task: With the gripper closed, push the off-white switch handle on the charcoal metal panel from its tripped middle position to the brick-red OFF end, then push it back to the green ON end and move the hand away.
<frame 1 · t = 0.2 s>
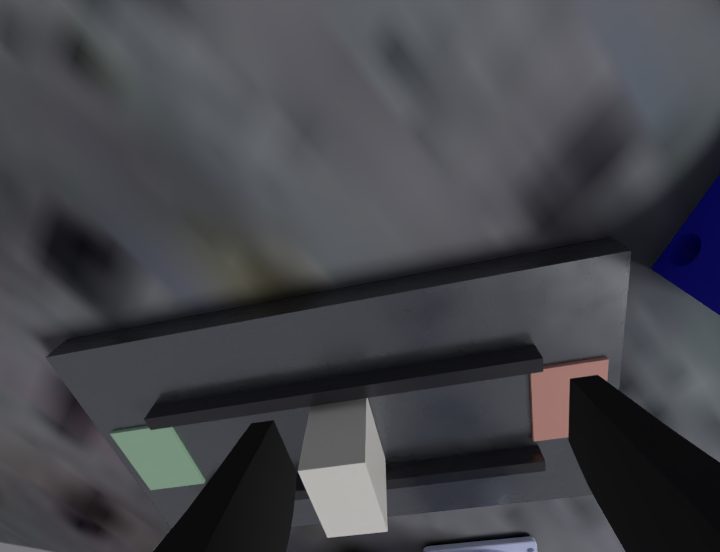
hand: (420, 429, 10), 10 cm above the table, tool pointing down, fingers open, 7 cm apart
breaker panel: (351, 409, 23), on the table
switch handle: (347, 464, 19), point 4 cm above the table, slide at 0.0 cm
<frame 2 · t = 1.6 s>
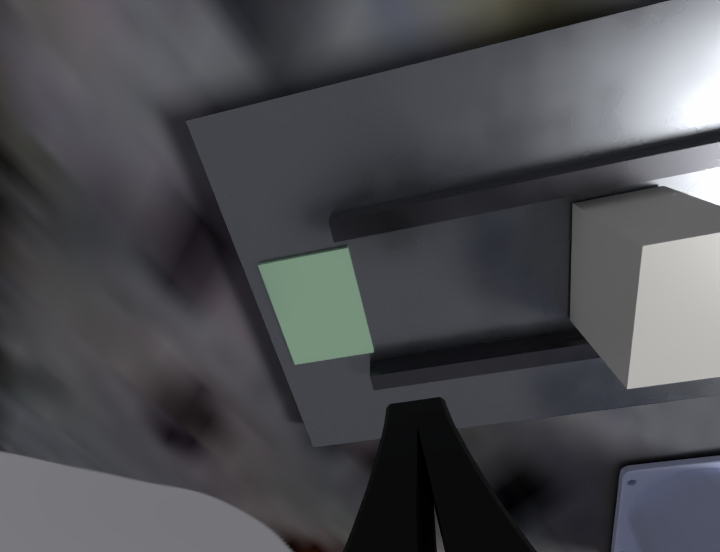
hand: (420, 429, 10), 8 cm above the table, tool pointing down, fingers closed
breaker panel: (591, 242, 16), on the table
switch handle: (645, 283, 13), point 4 cm above the table, slide at 0.0 cm
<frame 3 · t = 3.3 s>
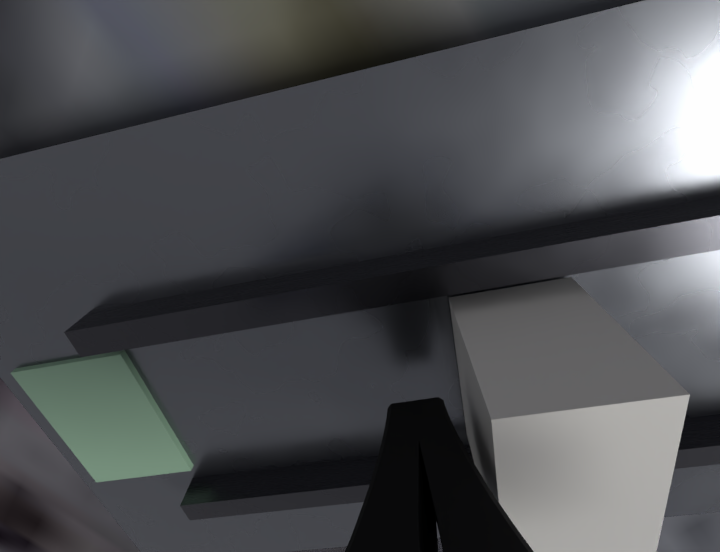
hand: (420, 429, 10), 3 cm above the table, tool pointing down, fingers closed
breaker panel: (462, 336, 12), on the table
switch handle: (540, 421, 9), point 4 cm above the table, slide at -1.1 cm, touching gripper
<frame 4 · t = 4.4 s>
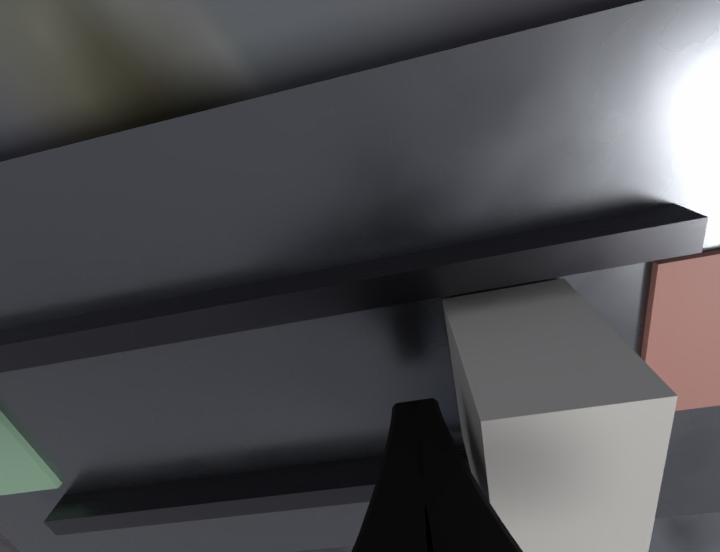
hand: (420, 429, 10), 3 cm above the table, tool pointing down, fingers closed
breaker panel: (307, 361, 13), on the table
switch handle: (533, 422, 9), point 4 cm above the table, slide at -6.1 cm, touching gripper
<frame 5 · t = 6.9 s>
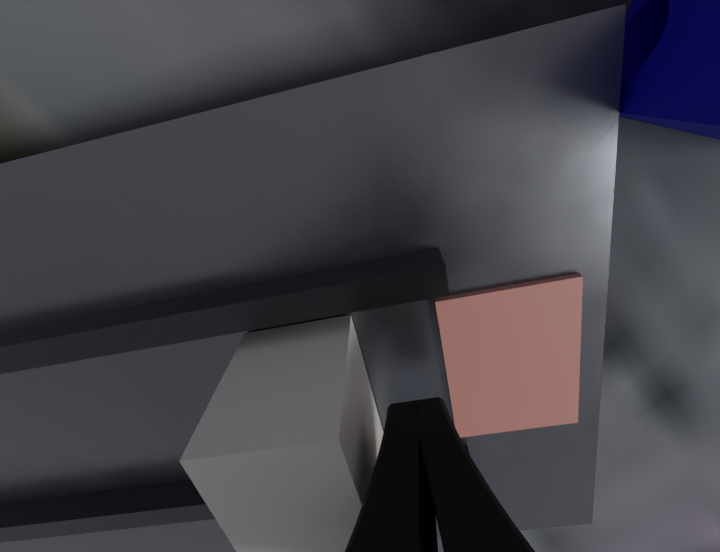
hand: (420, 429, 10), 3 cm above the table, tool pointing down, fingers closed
breaker panel: (164, 385, 14), on the table
switch handle: (311, 450, 10), point 4 cm above the table, slide at -6.0 cm, touching gripper
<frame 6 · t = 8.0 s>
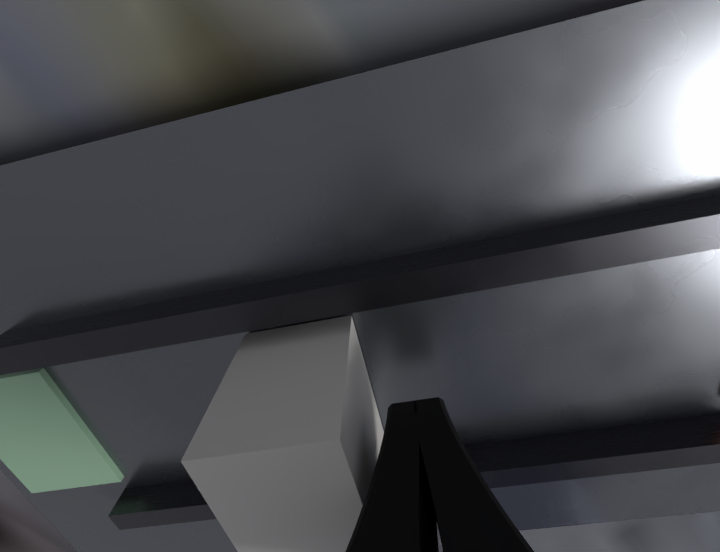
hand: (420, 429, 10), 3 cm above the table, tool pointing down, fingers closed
breaker panel: (378, 351, 13), on the table
switch handle: (312, 450, 10), point 4 cm above the table, slide at 1.7 cm, touching gripper
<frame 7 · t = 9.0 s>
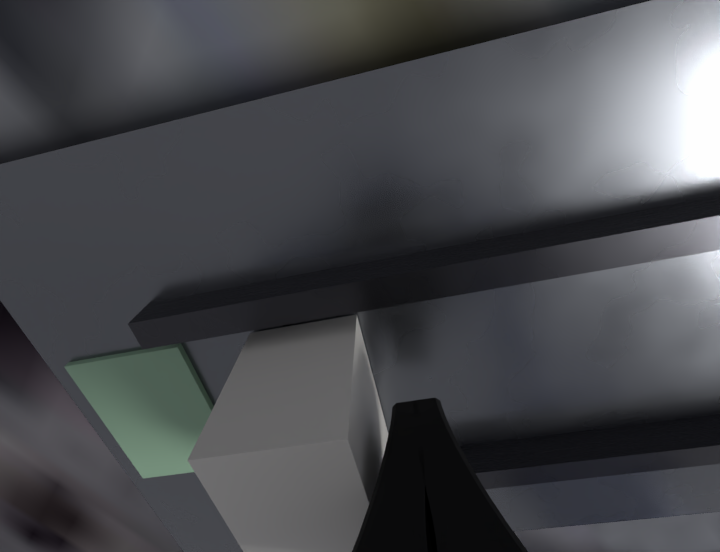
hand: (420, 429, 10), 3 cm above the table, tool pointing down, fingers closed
breaker panel: (517, 328, 12), on the table
switch handle: (317, 450, 10), point 4 cm above the table, slide at 6.1 cm, touching gripper
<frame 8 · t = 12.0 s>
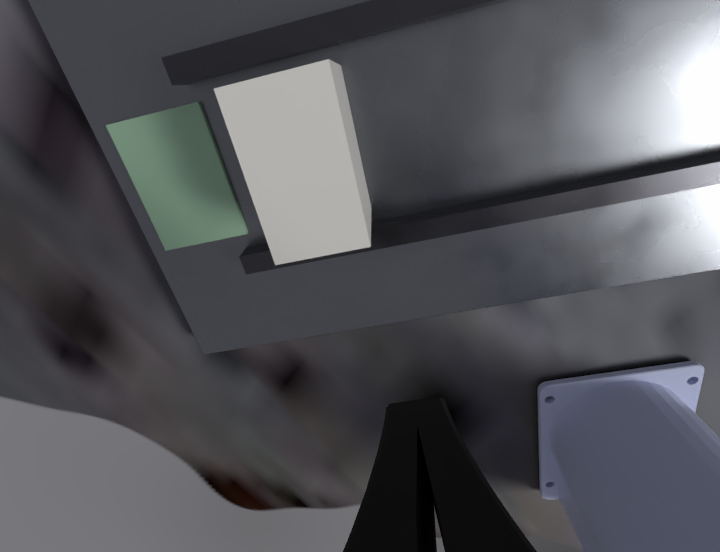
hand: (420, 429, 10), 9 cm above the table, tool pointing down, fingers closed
breaker panel: (474, 110, 15), on the table
switch handle: (309, 161, 12), point 4 cm above the table, slide at 6.1 cm
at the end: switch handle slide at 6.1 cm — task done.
